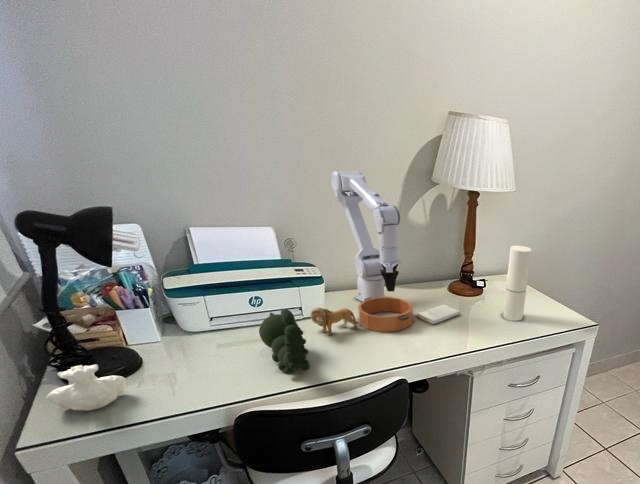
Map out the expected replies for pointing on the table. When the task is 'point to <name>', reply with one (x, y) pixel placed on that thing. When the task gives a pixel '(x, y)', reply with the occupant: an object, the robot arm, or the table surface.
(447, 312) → the hard drive
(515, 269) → the cylindrical container
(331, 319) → the lion figurine
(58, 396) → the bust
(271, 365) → the table surface
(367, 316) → the orange round basin
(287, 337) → the toy figurine
